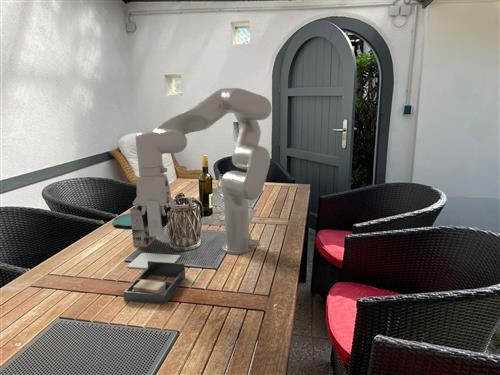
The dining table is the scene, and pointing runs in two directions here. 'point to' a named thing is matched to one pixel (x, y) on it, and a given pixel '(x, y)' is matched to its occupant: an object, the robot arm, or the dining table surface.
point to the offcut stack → (150, 287)
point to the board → (152, 259)
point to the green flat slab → (123, 220)
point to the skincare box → (154, 218)
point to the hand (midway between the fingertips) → (156, 224)
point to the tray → (157, 270)
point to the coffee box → (140, 229)
